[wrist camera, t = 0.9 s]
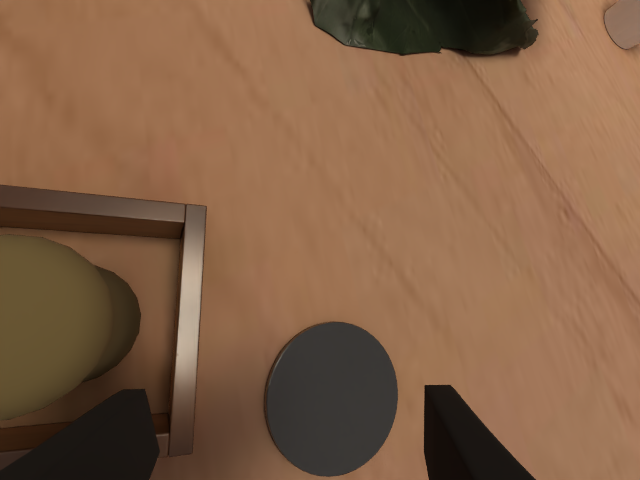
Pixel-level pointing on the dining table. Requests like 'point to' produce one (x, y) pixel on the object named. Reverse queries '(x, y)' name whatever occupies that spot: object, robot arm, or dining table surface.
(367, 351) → the silver flat disc
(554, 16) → the dining table surface
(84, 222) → the frame
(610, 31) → the shot glass
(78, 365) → the cork
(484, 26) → the rose bouquet
